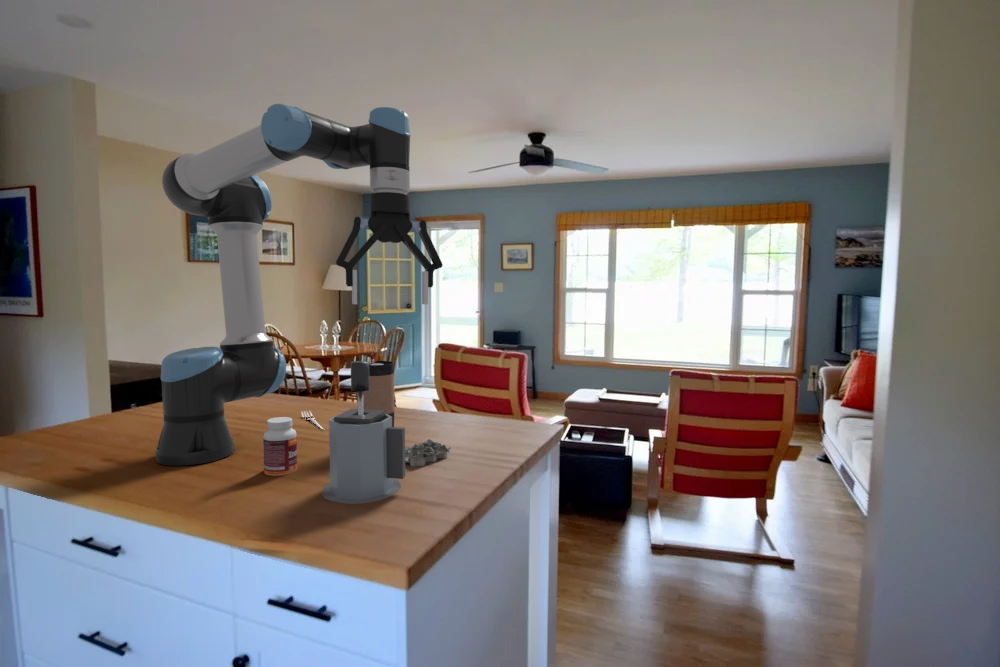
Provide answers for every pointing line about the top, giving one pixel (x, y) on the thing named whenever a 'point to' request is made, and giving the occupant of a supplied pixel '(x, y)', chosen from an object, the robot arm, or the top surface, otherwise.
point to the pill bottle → (280, 447)
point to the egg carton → (425, 453)
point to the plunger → (360, 382)
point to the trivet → (332, 497)
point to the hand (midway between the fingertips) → (390, 304)
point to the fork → (311, 418)
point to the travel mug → (380, 388)
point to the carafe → (365, 454)
